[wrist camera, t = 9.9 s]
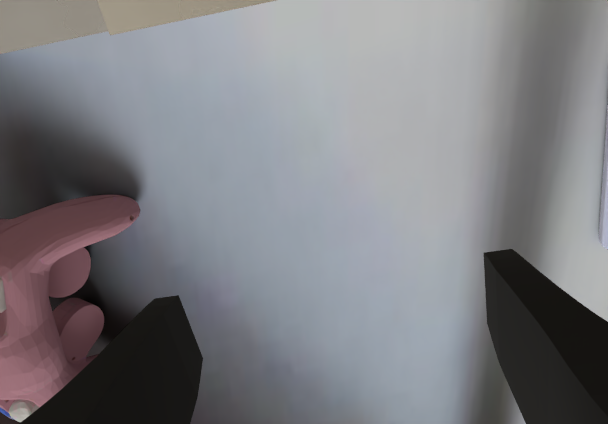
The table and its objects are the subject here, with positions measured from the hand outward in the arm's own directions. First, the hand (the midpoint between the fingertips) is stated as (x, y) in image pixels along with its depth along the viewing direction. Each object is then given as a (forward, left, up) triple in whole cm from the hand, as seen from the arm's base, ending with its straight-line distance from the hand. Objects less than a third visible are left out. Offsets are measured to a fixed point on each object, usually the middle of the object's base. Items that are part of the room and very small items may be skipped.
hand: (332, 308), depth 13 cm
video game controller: (+12, +4, -10) cm, 16 cm away
